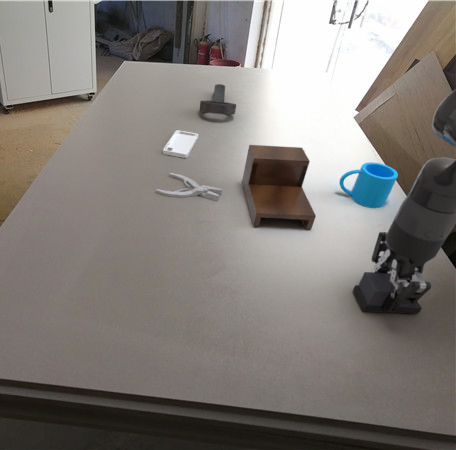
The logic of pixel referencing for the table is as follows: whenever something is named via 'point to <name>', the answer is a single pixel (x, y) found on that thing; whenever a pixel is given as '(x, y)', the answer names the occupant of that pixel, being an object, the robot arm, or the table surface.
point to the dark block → (379, 293)
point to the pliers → (197, 190)
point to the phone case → (180, 144)
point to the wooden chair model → (277, 184)
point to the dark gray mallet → (218, 103)
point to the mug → (371, 184)
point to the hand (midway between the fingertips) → (381, 298)
